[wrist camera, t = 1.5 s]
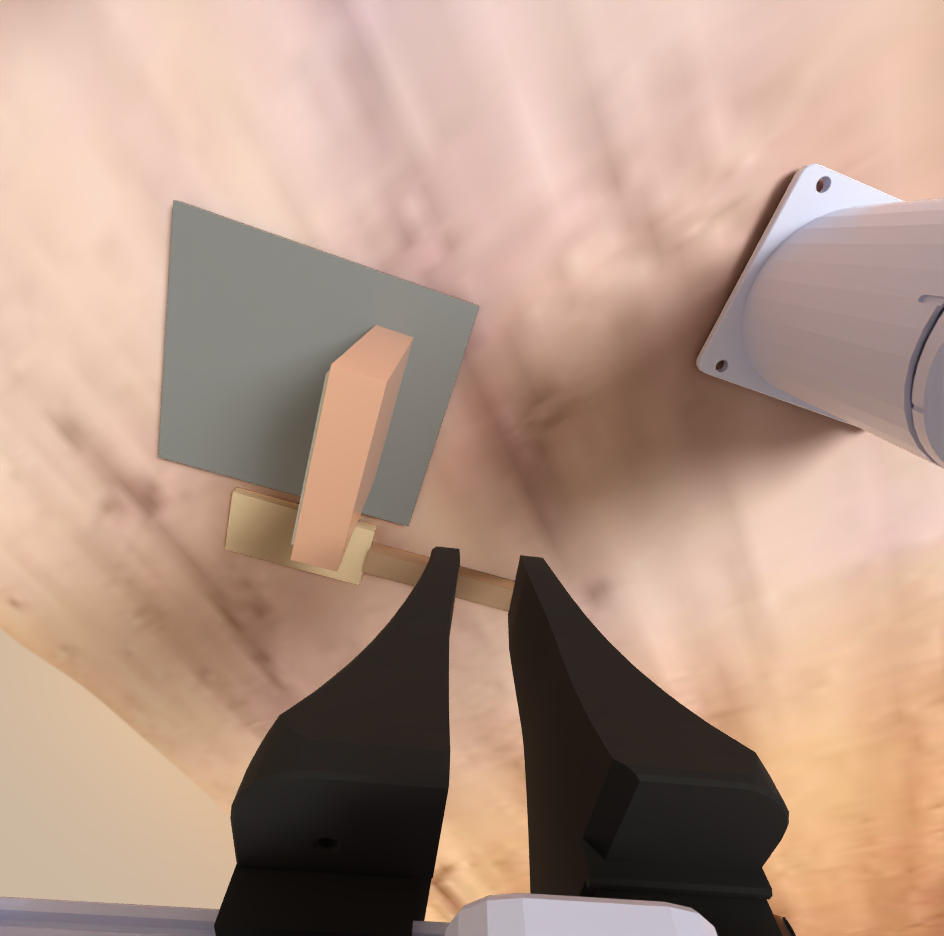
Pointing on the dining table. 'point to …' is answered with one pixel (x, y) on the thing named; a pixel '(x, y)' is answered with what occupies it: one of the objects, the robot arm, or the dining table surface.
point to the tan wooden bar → (270, 535)
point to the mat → (292, 356)
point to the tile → (348, 444)
